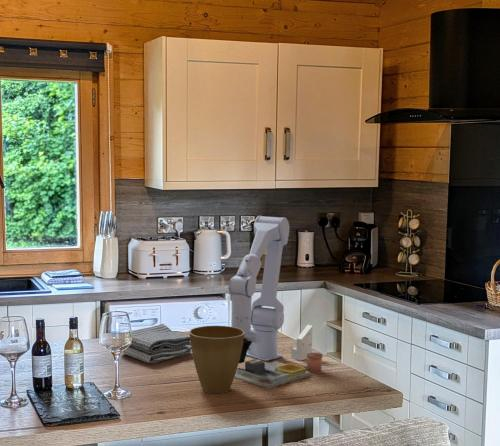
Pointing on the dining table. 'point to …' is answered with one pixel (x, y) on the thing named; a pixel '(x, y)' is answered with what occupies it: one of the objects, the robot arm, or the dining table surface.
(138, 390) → the dining table surface
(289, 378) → the panel
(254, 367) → the switch
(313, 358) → the cap
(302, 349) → the white angled block
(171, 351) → the towel
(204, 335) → the plant pot
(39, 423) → the dining table surface
